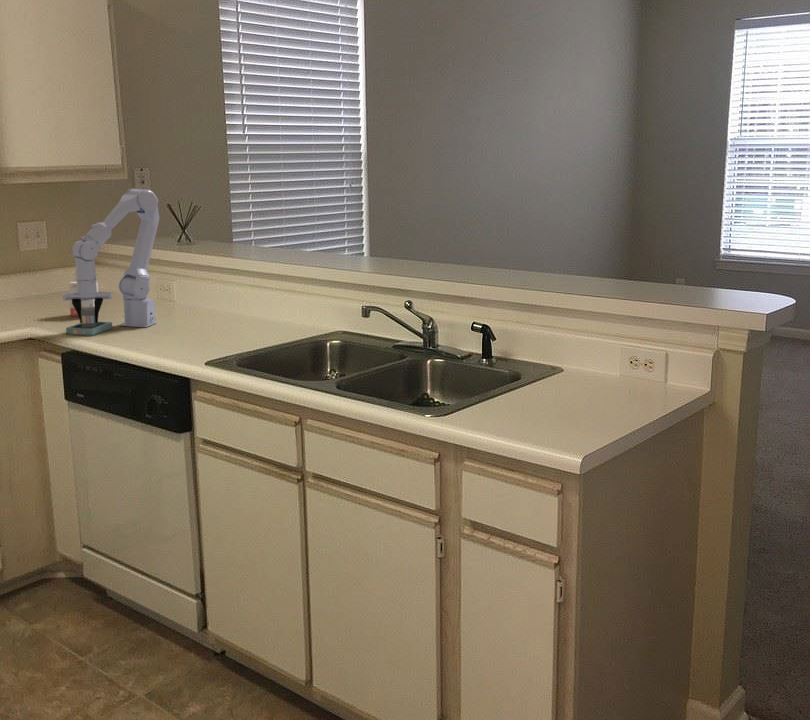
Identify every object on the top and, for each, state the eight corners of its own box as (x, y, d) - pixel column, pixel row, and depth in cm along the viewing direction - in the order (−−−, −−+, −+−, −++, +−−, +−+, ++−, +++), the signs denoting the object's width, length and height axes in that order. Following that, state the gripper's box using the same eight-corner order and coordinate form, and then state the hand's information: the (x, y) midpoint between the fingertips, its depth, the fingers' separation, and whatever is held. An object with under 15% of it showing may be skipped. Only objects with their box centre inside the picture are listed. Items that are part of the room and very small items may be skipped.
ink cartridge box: (70, 316, 311) (67, 273, 308) (76, 313, 316) (73, 271, 313) (94, 317, 311) (91, 274, 307) (100, 314, 315) (97, 272, 312)
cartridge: (96, 325, 292) (95, 306, 290) (95, 329, 285) (94, 310, 284) (83, 325, 291) (82, 307, 289) (81, 329, 284) (80, 310, 283)
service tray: (112, 328, 293) (111, 322, 293) (92, 335, 282) (92, 329, 281) (86, 326, 295) (86, 320, 294) (66, 334, 283) (65, 328, 283)
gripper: (111, 277, 290) (113, 319, 293) (62, 278, 286) (65, 320, 289) (110, 280, 283) (112, 323, 287) (60, 281, 280) (64, 324, 283)
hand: (89, 322), depth 288 cm, fingers closed on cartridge, 4 cm apart
